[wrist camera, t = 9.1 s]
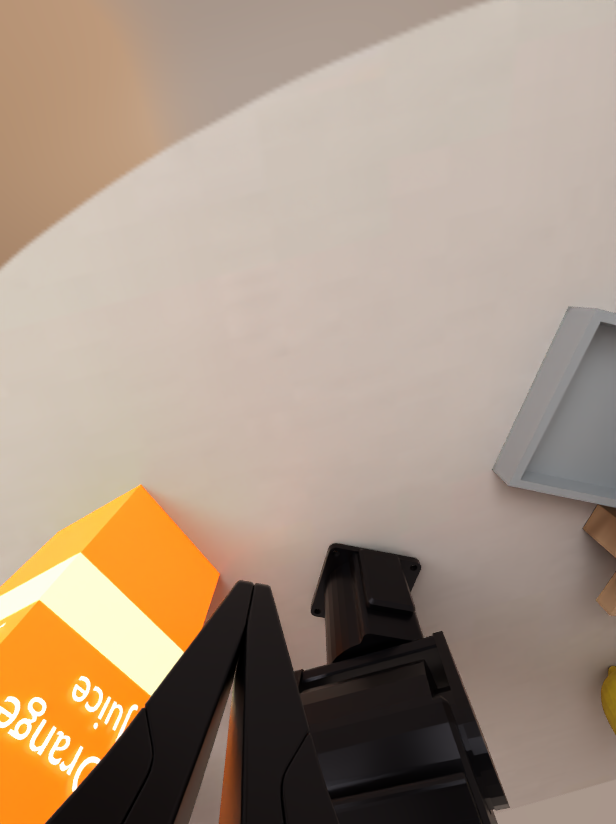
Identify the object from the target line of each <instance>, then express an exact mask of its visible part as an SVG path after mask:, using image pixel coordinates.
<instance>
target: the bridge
mask: <svg viewBox="0 0 616 824" xmlns="http://www.w3.org/2000/svg"><path fill="white" fill-rule="evenodd" d="M583 529H584V530H585V531H586V532H587V533H588V534H589V535H590V536H591V537H593V538H594V539H595V540H596V541H597V542H598V543H599V544H601V545H602V546H603V547H604V548H605V549H606V550H607V551H608V552H610V553H611V554H612V555H613V556H614V557H615V558H616V508H614V507H609V506H604V505H599V504H598V505H597V507H596V508H595V510H594V511H593V513H592V515H591V516H590V518H589V519H588V521H587V523H586V524H585V526H584V527H583ZM596 601H597V602H598V603H599V605H600V606H601V607H602V608H603V609H604V610H605V611H606V612H607V613H608V614H609V615H611V616H616V572H615V573H614V575H613V576H612V578H611V579H610V581H609V582H608V583H607V585H606V586H605V588H604V589H603V591H602V592H601V593H600V595H599V596H598V598H597V599H596Z"/></svg>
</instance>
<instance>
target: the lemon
mask: <svg viewBox="0 0 616 824" xmlns="http://www.w3.org/2000/svg"><path fill="white" fill-rule="evenodd" d="M601 701H602V707H603V710H604V713H605V715H606V718H607V720H608V722H609V724H610V726H611V727H612V729H613V731H614V733H615V734H616V666H611V667H610V668H609V670H608V677H607V678H606V679H605V680H604V682H603V685H602V688H601Z"/></svg>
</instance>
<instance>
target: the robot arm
mask: <svg viewBox="0 0 616 824" xmlns="http://www.w3.org/2000/svg"><path fill="white" fill-rule="evenodd" d="M333 551H338V552H333ZM412 565H414V566H412ZM420 570H421V565H420V563H419V560H418V559H416V558H412V557H407V556H401V555H396V554H391V553H385V552H380V551H375V550H369V549H364V548H359V547H353V546H348V545H343V544H337V543H334V544H332V545H330V546H329V548H328V551H327V555H326V558H325V561H324V564H323V568H322V571H321V574H320V577H319V581H318V584H317V587H316V591H315V594H314V597H313V600H312V604H311V614H312V615H314V616H317V617H323V618H325V626H326V651H327V665H323V666H320V667H316V668H312V669H309V670H305V671H304V670H303V669H301V670H298V671H293V667H292V664H291V660H290V656H289V653H288V649H287V645H286V642H285V638H284V634H283V631H282V627H281V624H280V620H279V616H278V613H277V609H276V605H275V602H274V598H273V595H272V591H271V588H270V586H269V585H265V584H259V583H256V584H255V585H254V584H253V583H252V582H248V581H243V580H239V581H238V582H237V583H236V584H235V586H234V587H233V588H232V590H231V591H230V592H229V593H228V595H227V596H226V597H225V599H224V600H223V601H222V603H221V604H220V605H219V607H218V608H217V609H216V611H215V612H214V613H213V615H212V616H211V617H210V619H209V620H208V621H207V623H206V624H205V625H204V627H203V628H202V629H201V631H200V632H199V633H198V634H197V636H196V637H195V638H194V640H193V641H192V642H191V644H190V645H189V646H188V648H187V649H186V650H185V652H184V653H183V654H182V656H181V657H180V658H179V660H178V661H177V662H176V664H175V665H174V666H173V668H172V669H171V670H170V671H169V673H168V674H167V675H166V677H165V678H164V679H163V681H162V682H161V683H160V685H159V686H158V687H157V689H156V690H155V691H154V693H153V694H152V695H151V697H150V698H149V699H148V701H147V702H146V703H145V707H143V708H141V710H140V711H139V712H138V713H137V715H136V716H135V717H134V719H133V720H132V721H131V723H130V724H129V725H128V727H127V728H126V729H125V730H124V732H123V733H122V734H121V736H120V737H119V738H118V739H117V741H116V742H115V743H114V744H113V746H112V747H111V748H110V749H109V751H108V752H107V753H106V754H105V756H104V757H103V758H102V759H101V760H100V761H99V763H98V764H97V765H96V766H95V767H94V768H93V770H92V771H91V772H90V773H89V774H88V775H87V776H86V778H85V779H84V780H83V781H82V782H81V783H80V785H79V786H78V787H77V788H76V789H75V790H74V791H73V793H72V794H71V795H70V796H69V797H68V798H67V799H66V800H65V801H64V802H63V804H62V805H61V806H60V807H59V808H58V809H57V810H56V811H55V812H54V814H53V815H52V816H51V817H50V818H49V819H48V820H47V821H46V822H45V824H189V821H190V818H191V814H192V811H193V808H194V805H195V802H196V798H197V795H198V792H199V789H200V786H201V783H202V779H203V776H204V773H205V770H206V767H207V763H208V760H209V757H210V754H211V751H212V748H213V744H214V741H215V738H216V735H217V732H218V728H219V725H220V722H221V719H222V716H223V713H224V709H225V706H226V703H227V700H228V697H229V693H230V690H231V687H232V683H233V679H234V684H233V692H232V701H231V711H230V721H229V730H228V740H227V750H226V759H225V769H224V778H223V788H222V798H221V807H220V817H219V824H498V823H497V821H496V818H495V815H494V812H493V809H495V810H500V809H506V808H510V807H509V804H508V801H507V798H506V796H505V793H504V790H503V787H502V785H501V782H500V779H499V777H498V774H497V771H496V769H495V766H494V763H493V760H492V758H491V755H490V752H489V750H488V747H487V744H486V741H485V739H484V736H483V733H482V731H481V728H480V726H479V723H478V720H477V718H476V715H475V713H474V710H473V708H472V705H471V702H470V700H469V697H468V695H467V692H466V689H465V687H464V684H463V682H462V679H461V677H460V674H459V672H458V669H457V667H456V664H455V662H454V659H453V657H452V654H451V652H450V649H449V647H448V644H447V642H446V639H445V637H444V634H443V632H442V631H440V632H436V633H433V636H429V637H426V638H424V637H423V634H422V631H421V628H420V625H419V622H418V619H417V616H416V612H415V605H414V602H413V599H412V596H411V593H410V592H411V590H412V588H413V586H414V583H415V581H416V579H417V576H418V574H419V572H420ZM236 666H237V667H236ZM235 671H236V672H235ZM234 675H235V678H234Z"/></svg>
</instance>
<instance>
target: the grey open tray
mask: <svg viewBox="0 0 616 824" xmlns="http://www.w3.org/2000/svg"><path fill="white" fill-rule="evenodd" d="M492 470H493V471H494V472H495V473H496V474H497V475H498V476H499V477H500V478H501V479H502V480H503V481H504V482H505V483H506V484H507V485H508V486H512V487H517V488H522V489H527V490H532V491H537V492H542V493H546V494H551V495H556V496H561V497H566V498H571V499H576V500H581V501H585V502H590V503H595V504H600V505H605V506H610V507H615V508H616V313H613V312H609V311H605V310H601V309H597V308H581V307H568V309H567V311H566V313H565V315H564V317H563V320H562V322H561V324H560V326H559V328H558V330H557V332H556V334H555V337H554V339H553V341H552V343H551V345H550V347H549V349H548V352H547V354H546V356H545V358H544V360H543V362H542V364H541V366H540V369H539V371H538V373H537V375H536V377H535V379H534V381H533V383H532V386H531V388H530V390H529V392H528V394H527V396H526V398H525V401H524V403H523V405H522V407H521V409H520V411H519V413H518V415H517V418H516V420H515V422H514V424H513V426H512V428H511V430H510V433H509V435H508V437H507V439H506V441H505V443H504V445H503V447H502V450H501V452H500V454H499V456H498V458H497V460H496V462H495V464H494V467H493V469H492Z"/></svg>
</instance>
